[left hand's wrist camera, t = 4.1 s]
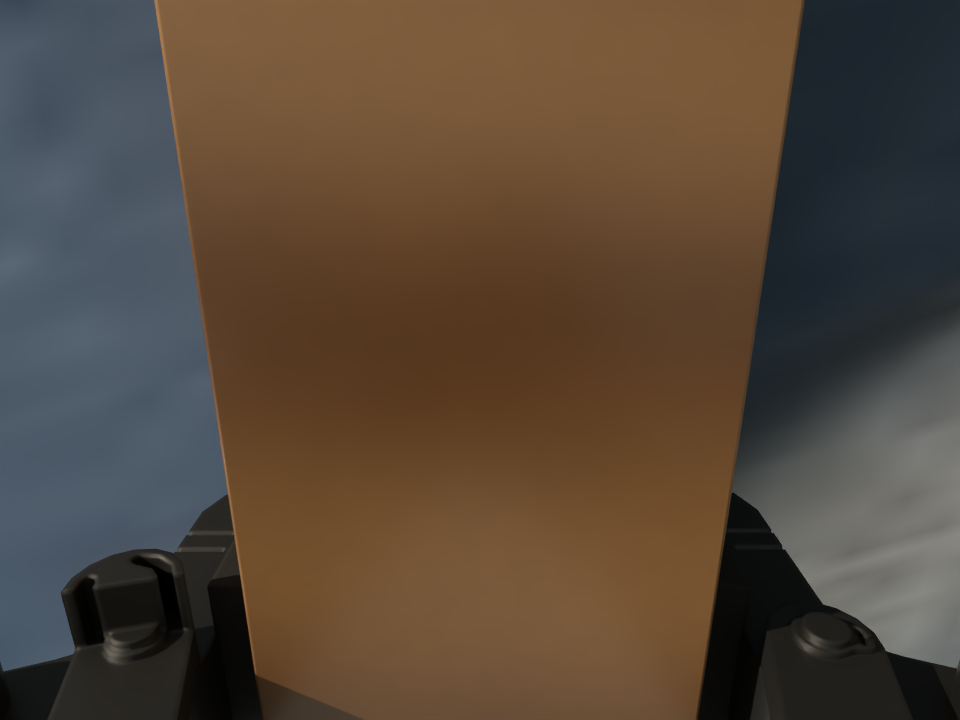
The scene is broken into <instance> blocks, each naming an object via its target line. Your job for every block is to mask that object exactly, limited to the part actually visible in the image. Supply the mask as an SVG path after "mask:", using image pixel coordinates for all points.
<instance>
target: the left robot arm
mask: <svg viewBox="0 0 960 720" xmlns="http://www.w3.org/2000/svg"><path fill="white" fill-rule="evenodd" d="M61 596H62V599H63V603H64V607H65V611H66V615H67V618H68V622H69V626H70V630H71V634H72V637H73V641H74V645H75V652H74V654H73V655H69V656H66V657H63V658H59V659H56V660H52V661H48V662H43V663H39V664H34V665H30V666H26V667H21V668H17V669H13V670H8V671H4V672H3V669H2V666H1V663H0V720H262V718H261V711H260V704H259V698H258V691H257V684H256V678H255V671H254V664H253V657H252V651H251V644H250V637H249V631H248V624H247V617H246V611H245V604H244V597H243V590H242V584H241V577H240V570H239V564H238V557H237V550H236V544H235V537H234V530H233V523H232V517H231V510H230V503H229V497H228V495H226V496H224V497H223V498H221V499H220V500H218V501H217V502H216V503H214V504H213V505H211V506H210V507H209V508H207V509H206V510H204V511H203V512H202V513H201V515H200V516H199V518H198V519H197V521H196V522H195V524H194V525H193V526H192V528H191V529H190V531H189V535H186V537H185V538H184V540H183V541H182V542H181V544H180V545H179V547H178V551H177V552H175V553H174V554H173V553H171V552H167V551H163V550H159V549H139V550H132V551H127V552H123V553H119V554H115V555H112V556H109V557H107V558H105V559H102V560H100V561H98V562H96V563H93V564H91V565H89V566H88V567H87V568H85V569H84V570H82V571H81V572H80V573H78V574H77V575H75V576H74V577H73V578H72V579H71V580H70V581H69V582H68V584H67V585H66V586H65V588H64V589H63V590H62V591H61ZM698 720H960V661H959V664H958V668H957V669H956V668H951V667H947V666H942V665H938V664H934V663H929V662H925V661H921V660H916V659H912V658H907V657H903V656H900V655H897V654H893V653H890V652H887V651H885V648H884V647H883V645H882V644H881V642H880V641H879V639H878V638H877V636H876V635H875V633H874V632H873V631H871V630H870V629H869V628H868V627H866V626H865V625H864V624H863V623H862V622H860V621H859V620H858V619H856V618H854V617H852V616H850V615H848V614H846V613H844V612H842V611H840V610H838V609H836V608H833V607H830V606H826V605H823V604H822V602H821V601H820V599H819V598H818V597H817V595H816V594H815V592H814V591H813V589H812V588H811V586H810V585H809V584H808V582H807V581H806V579H805V578H804V576H803V575H802V573H801V572H800V571H799V569H798V568H797V566H796V565H795V563H794V562H793V560H792V559H791V558H790V556H789V555H788V553H787V552H786V550H783V549H782V544H781V543H780V542H779V540H778V539H777V537H776V536H775V534H774V533H771V529H770V527H769V526H768V524H767V523H766V521H765V520H764V518H763V517H762V516H761V514H760V513H759V511H758V510H757V509H756V508H754V507H753V506H752V505H750V504H749V503H747V502H746V501H744V500H743V499H742V498H740V497H739V496H737V495H736V494H735V493H731V500H730V507H729V514H728V520H727V527H726V534H725V540H724V547H723V554H722V561H721V567H720V574H719V581H718V587H717V594H716V601H715V608H714V614H713V621H712V628H711V634H710V641H709V648H708V655H707V661H706V668H705V675H704V681H703V688H702V695H701V701H700V708H699V715H698Z"/></svg>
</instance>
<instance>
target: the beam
mask: <svg viewBox="0 0 960 720" xmlns="http://www.w3.org/2000/svg"><path fill="white" fill-rule="evenodd" d="M804 4H805V0H155V7H156V14H157V21H158V27H159V34H160V41H161V47H162V54H163V61H164V68H165V74H166V81H167V88H168V94H169V101H170V108H171V114H172V121H173V128H174V135H175V141H176V148H177V155H178V161H179V168H180V175H181V181H182V188H183V195H184V202H185V208H186V215H187V222H188V228H189V235H190V242H191V249H192V255H193V262H194V269H195V275H196V282H197V289H198V295H199V302H200V309H201V316H202V322H203V329H204V336H205V342H206V349H207V356H208V362H209V369H210V376H211V383H212V389H213V396H214V403H215V409H216V416H217V423H218V430H219V436H220V443H221V450H222V456H223V463H224V470H225V476H226V483H227V490H228V497H229V503H230V510H231V517H232V523H233V530H234V537H235V544H236V550H237V557H238V564H239V570H240V577H241V584H242V590H243V597H244V604H245V611H246V617H247V624H248V631H249V637H250V644H251V651H252V657H253V664H254V671H255V678H256V684H257V691H258V698H259V704H260V711H261V718H262V720H698V715H699V708H700V701H701V695H702V688H703V681H704V675H705V668H706V661H707V655H708V648H709V641H710V634H711V628H712V621H713V614H714V608H715V601H716V594H717V587H718V581H719V574H720V567H721V561H722V554H723V547H724V540H725V534H726V527H727V520H728V514H729V507H730V500H731V493H732V487H733V480H734V473H735V467H736V460H737V453H738V447H739V440H740V433H741V426H742V420H743V413H744V406H745V400H746V393H747V386H748V379H749V373H750V366H751V359H752V353H753V346H754V339H755V332H756V326H757V319H758V312H759V306H760V299H761V292H762V285H763V279H764V272H765V265H766V259H767V252H768V245H769V239H770V232H771V225H772V218H773V212H774V205H775V198H776V192H777V185H778V178H779V171H780V165H781V158H782V151H783V145H784V138H785V131H786V124H787V118H788V111H789V104H790V98H791V91H792V84H793V77H794V71H795V64H796V57H797V51H798V44H799V37H800V31H801V24H802V17H803V10H804Z"/></svg>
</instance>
